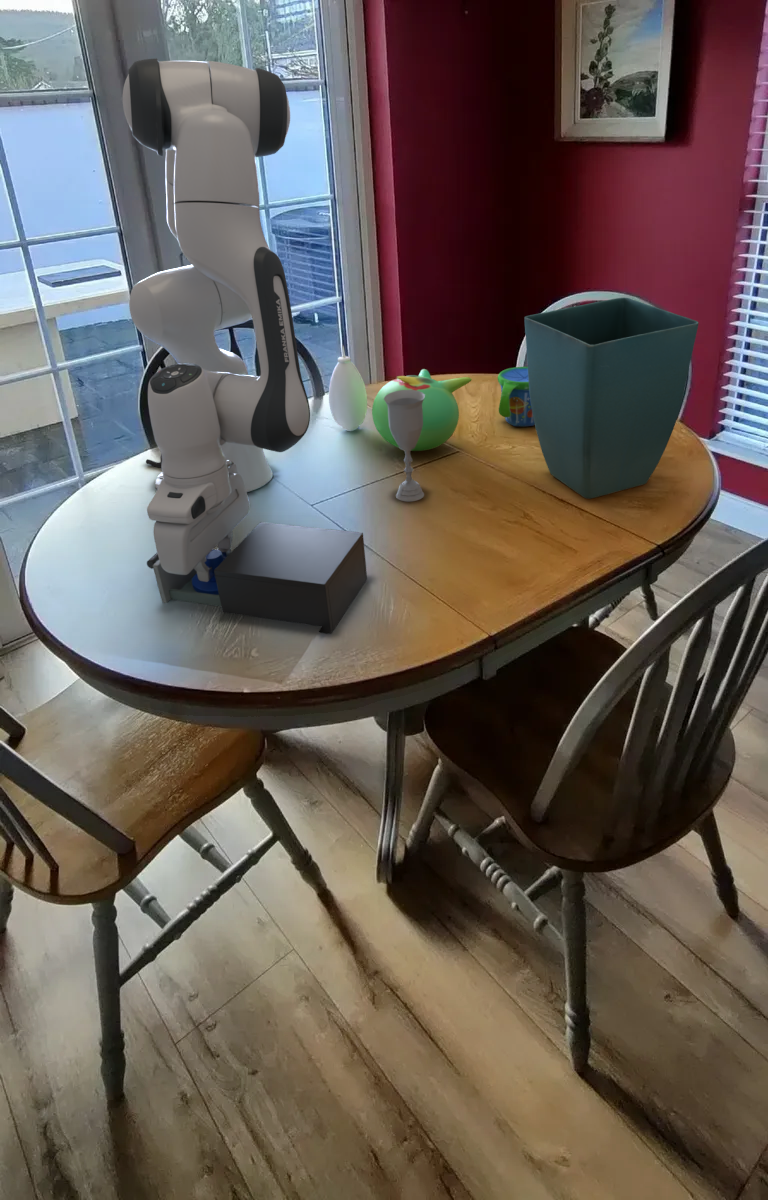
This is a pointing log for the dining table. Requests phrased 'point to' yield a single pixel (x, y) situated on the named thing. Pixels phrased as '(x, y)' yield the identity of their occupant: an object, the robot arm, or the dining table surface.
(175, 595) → the grey drawer
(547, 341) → the flower pot
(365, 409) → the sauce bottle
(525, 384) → the snack cup
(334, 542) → the dark grey drawer cabinet
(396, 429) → the chalice
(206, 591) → the lid
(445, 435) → the toy bird
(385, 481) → the dining table surface
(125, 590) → the dining table surface
